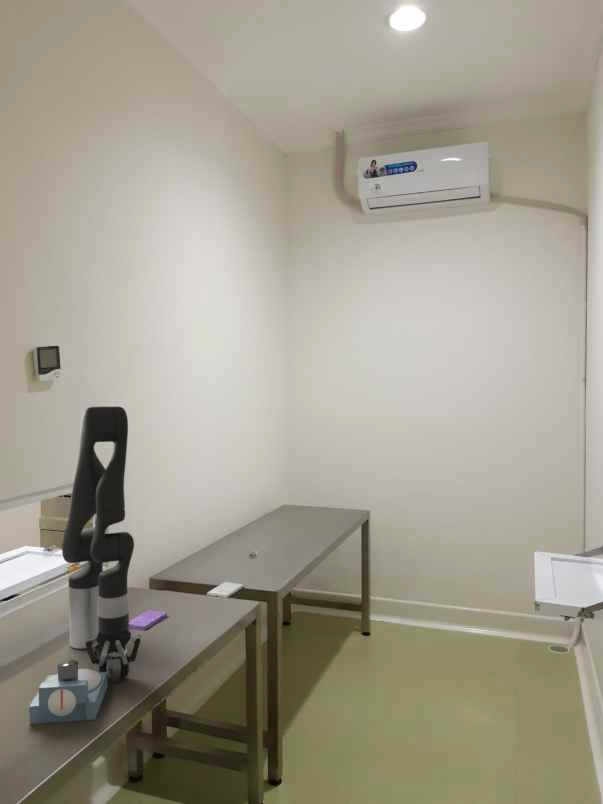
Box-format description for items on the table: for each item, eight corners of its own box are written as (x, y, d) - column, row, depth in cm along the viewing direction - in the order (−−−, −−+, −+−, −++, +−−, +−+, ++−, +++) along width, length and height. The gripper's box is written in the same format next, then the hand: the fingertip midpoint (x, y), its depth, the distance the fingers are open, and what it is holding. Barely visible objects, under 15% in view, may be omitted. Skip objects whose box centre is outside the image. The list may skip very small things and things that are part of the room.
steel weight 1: (60, 685, 146) (60, 660, 146) (80, 684, 147) (79, 659, 146) (55, 694, 142) (55, 668, 142) (75, 693, 142) (75, 667, 142)
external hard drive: (243, 588, 231) (226, 599, 219) (224, 586, 234) (206, 596, 222) (243, 584, 231) (226, 594, 219) (224, 581, 234) (206, 591, 222)
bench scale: (49, 689, 154) (49, 657, 154) (108, 685, 156) (107, 653, 155) (29, 725, 138) (28, 689, 137) (94, 720, 139) (94, 685, 139)
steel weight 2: (107, 676, 161) (106, 653, 160) (124, 675, 161) (124, 652, 161) (103, 684, 156) (103, 660, 156) (122, 683, 157) (121, 659, 157)
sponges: (125, 629, 193) (125, 623, 193) (148, 614, 205) (148, 609, 205) (144, 632, 190) (144, 626, 190) (167, 617, 202) (167, 611, 202)
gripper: (144, 604, 163) (144, 669, 163) (87, 607, 161) (88, 672, 162) (140, 615, 155) (141, 683, 156) (80, 618, 154) (82, 686, 154)
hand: (114, 677), depth 159 cm, fingers closed on steel weight 2, 4 cm apart
